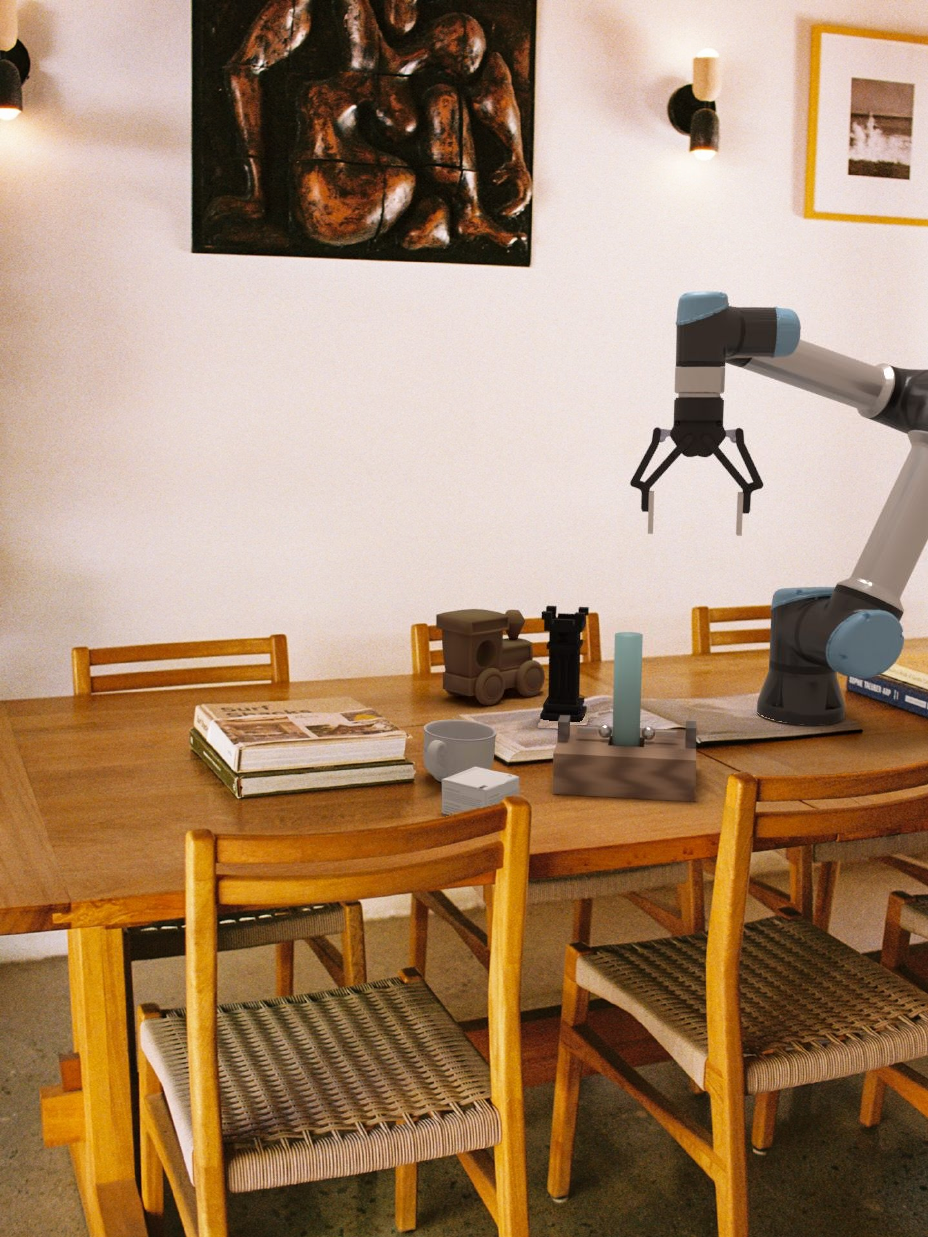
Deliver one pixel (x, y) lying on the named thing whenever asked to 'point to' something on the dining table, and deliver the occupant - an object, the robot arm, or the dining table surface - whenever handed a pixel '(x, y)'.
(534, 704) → the dining table surface
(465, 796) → the small box
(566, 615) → the chess piece
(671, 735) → the plunger
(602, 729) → the plunger
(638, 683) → the teal peg
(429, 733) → the teacup
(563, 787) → the walnut socket block
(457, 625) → the wooden toy train
